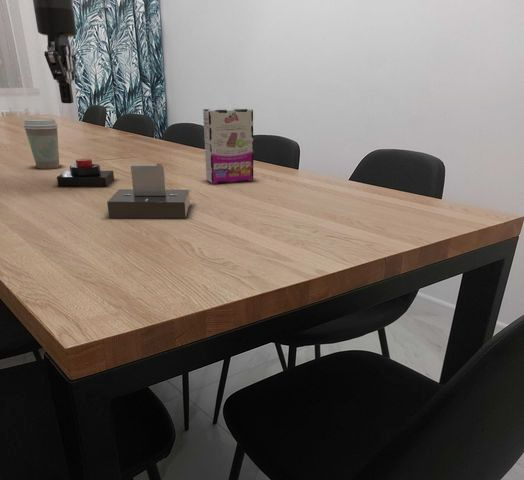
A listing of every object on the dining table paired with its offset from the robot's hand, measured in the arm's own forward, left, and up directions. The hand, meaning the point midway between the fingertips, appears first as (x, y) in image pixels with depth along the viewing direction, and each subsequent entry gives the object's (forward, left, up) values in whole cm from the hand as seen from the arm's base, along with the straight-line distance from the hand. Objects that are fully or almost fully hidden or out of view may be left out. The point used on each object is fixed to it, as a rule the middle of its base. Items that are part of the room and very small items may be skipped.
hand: (67, 103), depth 109 cm
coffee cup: (-15, +25, -18) cm, 34 cm away
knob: (+20, -24, -14) cm, 35 cm away
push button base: (+1, +3, -17) cm, 18 cm away
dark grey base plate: (+20, -24, -17) cm, 36 cm away
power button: (+1, +3, -14) cm, 14 cm away
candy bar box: (+35, +7, -18) cm, 40 cm away
